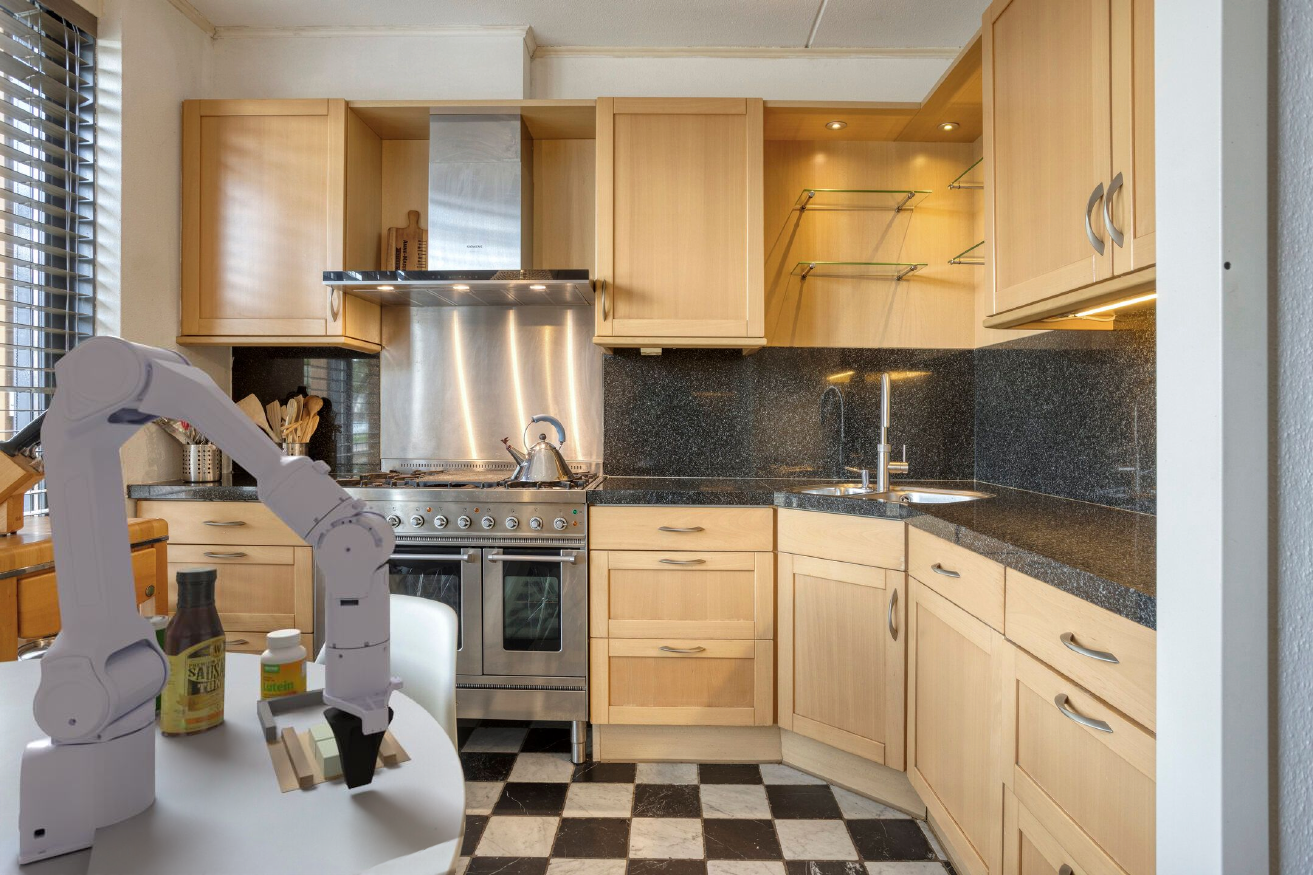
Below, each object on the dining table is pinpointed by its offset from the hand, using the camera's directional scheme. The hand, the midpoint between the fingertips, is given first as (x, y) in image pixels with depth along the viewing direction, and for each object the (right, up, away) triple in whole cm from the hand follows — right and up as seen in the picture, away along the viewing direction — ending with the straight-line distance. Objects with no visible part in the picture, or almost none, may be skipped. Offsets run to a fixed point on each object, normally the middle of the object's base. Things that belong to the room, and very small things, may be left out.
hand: (358, 783), depth 66 cm
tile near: (-4, -1, +6) cm, 7 cm away
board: (-6, -2, +9) cm, 11 cm away
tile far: (-7, -1, +10) cm, 12 cm away
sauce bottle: (-26, -3, +16) cm, 31 cm away
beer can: (-38, -3, +24) cm, 45 cm away
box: (-13, -2, +19) cm, 23 cm away
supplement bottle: (-21, -3, +26) cm, 33 cm away
